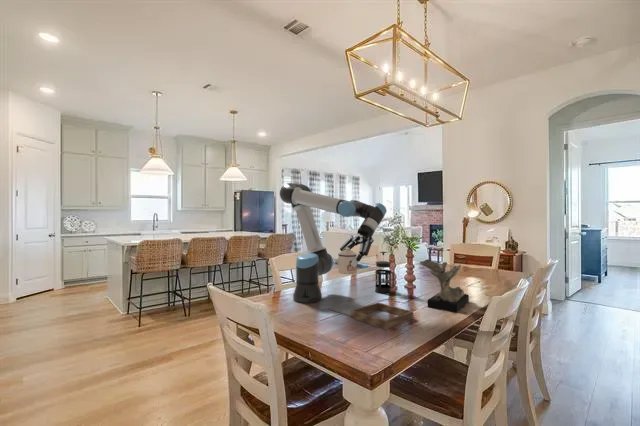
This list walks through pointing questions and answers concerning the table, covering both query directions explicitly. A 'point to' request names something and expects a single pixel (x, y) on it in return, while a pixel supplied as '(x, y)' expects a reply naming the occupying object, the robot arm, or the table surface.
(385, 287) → the french press
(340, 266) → the teacup with lid
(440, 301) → the coral
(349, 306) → the rubber mat
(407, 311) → the wooden frame
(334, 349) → the table surface
